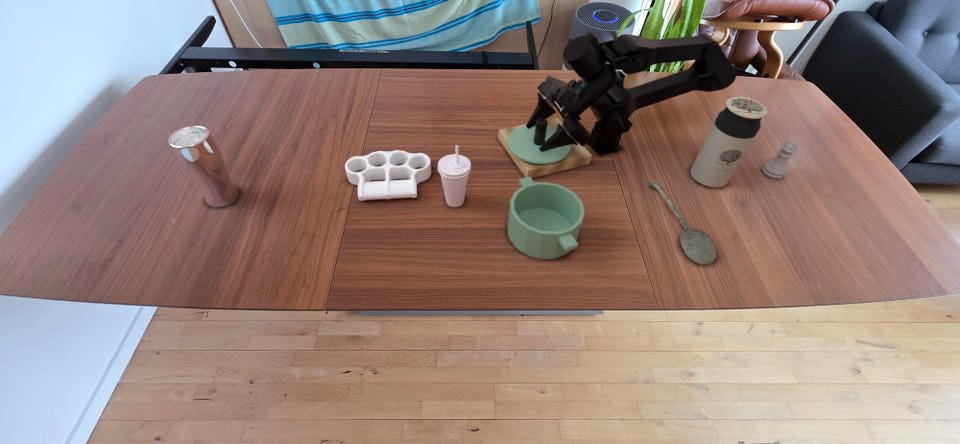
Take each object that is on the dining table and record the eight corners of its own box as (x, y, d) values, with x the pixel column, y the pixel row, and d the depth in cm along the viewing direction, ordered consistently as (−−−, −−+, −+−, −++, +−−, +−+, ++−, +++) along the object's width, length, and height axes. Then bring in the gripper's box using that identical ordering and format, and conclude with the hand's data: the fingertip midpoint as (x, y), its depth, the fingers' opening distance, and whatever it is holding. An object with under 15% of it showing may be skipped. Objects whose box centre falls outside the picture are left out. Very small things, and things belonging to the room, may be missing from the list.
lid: (576, 136, 101) (581, 112, 96) (561, 173, 92) (566, 148, 87) (518, 122, 104) (521, 98, 99) (497, 156, 95) (499, 131, 90)
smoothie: (466, 214, 86) (467, 158, 76) (435, 208, 87) (432, 153, 76) (473, 192, 90) (474, 137, 80) (443, 188, 91) (441, 133, 81)
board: (556, 125, 108) (557, 117, 106) (589, 163, 98) (591, 155, 96) (497, 138, 104) (498, 129, 102) (526, 179, 94) (528, 170, 92)
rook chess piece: (782, 170, 99) (802, 141, 93) (782, 181, 96) (803, 153, 90) (761, 164, 100) (779, 136, 94) (761, 175, 97) (780, 147, 91)
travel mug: (689, 162, 100) (724, 92, 87) (726, 170, 98) (767, 100, 85) (689, 183, 94) (726, 112, 81) (727, 192, 93) (771, 121, 80)
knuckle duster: (343, 205, 87) (350, 160, 96) (433, 200, 88) (430, 156, 98) (340, 193, 84) (347, 148, 94) (432, 188, 86) (429, 144, 96)
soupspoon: (687, 269, 79) (719, 266, 80) (696, 258, 76) (728, 255, 78) (639, 186, 93) (666, 184, 94) (644, 174, 90) (672, 173, 92)
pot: (549, 193, 91) (554, 167, 86) (597, 258, 79) (606, 233, 74) (491, 208, 87) (493, 182, 82) (532, 279, 76) (537, 254, 70)
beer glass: (248, 190, 89) (218, 129, 78) (224, 212, 84) (189, 151, 73) (221, 182, 90) (188, 121, 79) (196, 204, 86) (157, 142, 75)
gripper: (552, 44, 91) (499, 97, 97) (589, 89, 79) (525, 146, 85) (578, 75, 98) (528, 122, 104) (616, 121, 86) (556, 171, 92)
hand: (533, 138), depth 96 cm, fingers open, 8 cm apart
